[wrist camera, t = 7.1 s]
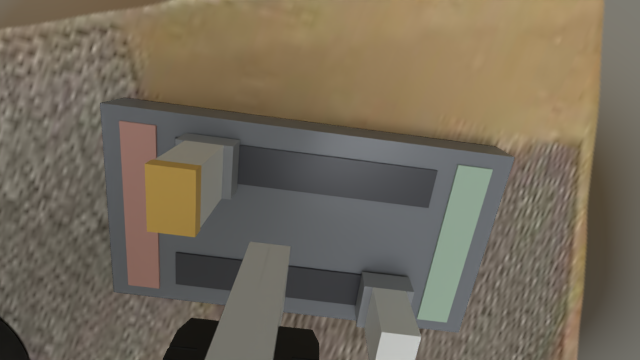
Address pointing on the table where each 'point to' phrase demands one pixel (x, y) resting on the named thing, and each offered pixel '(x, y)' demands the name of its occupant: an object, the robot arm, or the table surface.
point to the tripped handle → (189, 183)
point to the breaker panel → (313, 218)
